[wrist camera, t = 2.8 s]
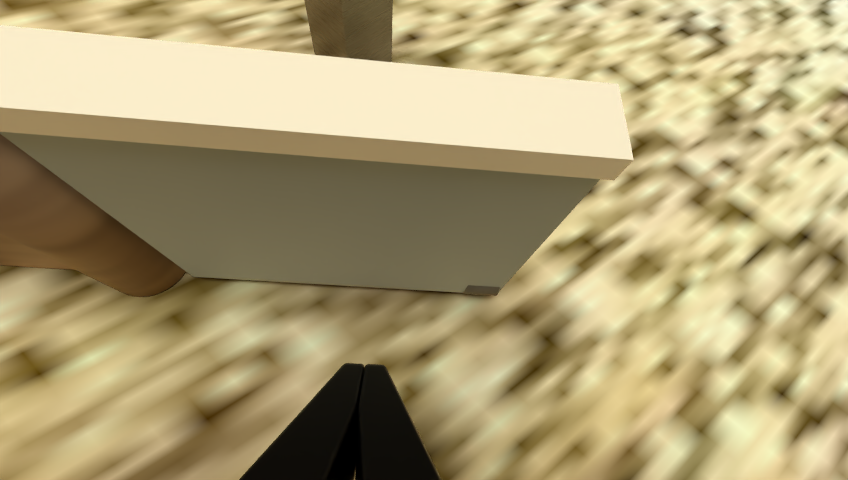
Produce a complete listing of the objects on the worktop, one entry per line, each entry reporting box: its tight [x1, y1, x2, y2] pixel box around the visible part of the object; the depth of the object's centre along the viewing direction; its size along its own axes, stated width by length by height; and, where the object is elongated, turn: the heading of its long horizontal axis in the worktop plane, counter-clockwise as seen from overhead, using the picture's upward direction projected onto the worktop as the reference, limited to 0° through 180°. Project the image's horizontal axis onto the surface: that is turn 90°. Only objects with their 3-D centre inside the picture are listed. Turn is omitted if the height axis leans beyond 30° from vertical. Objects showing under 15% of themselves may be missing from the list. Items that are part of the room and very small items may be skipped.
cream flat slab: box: [0, 25, 634, 296], centre depth 12 cm, size 12×2×10 cm, turn 88°
